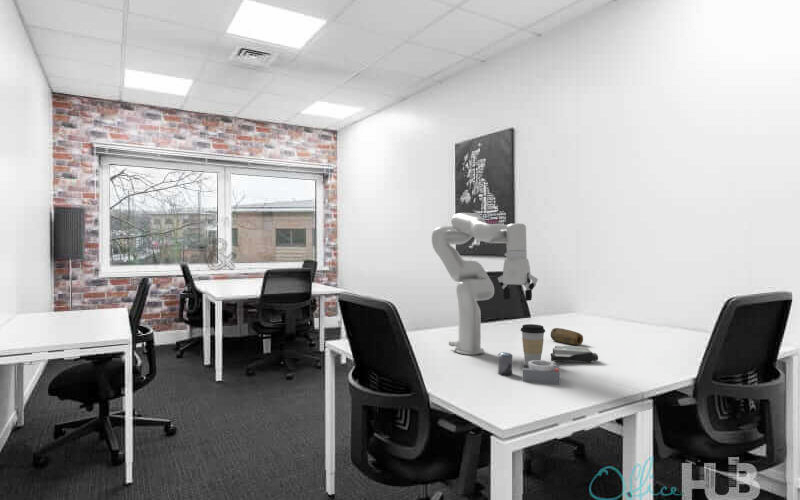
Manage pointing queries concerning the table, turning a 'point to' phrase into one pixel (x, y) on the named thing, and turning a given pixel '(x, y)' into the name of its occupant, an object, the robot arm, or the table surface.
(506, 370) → the lens
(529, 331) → the coffee cup
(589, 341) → the table surface
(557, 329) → the brown wooden cylinder
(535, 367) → the camera body
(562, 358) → the grey plastic handled piece
